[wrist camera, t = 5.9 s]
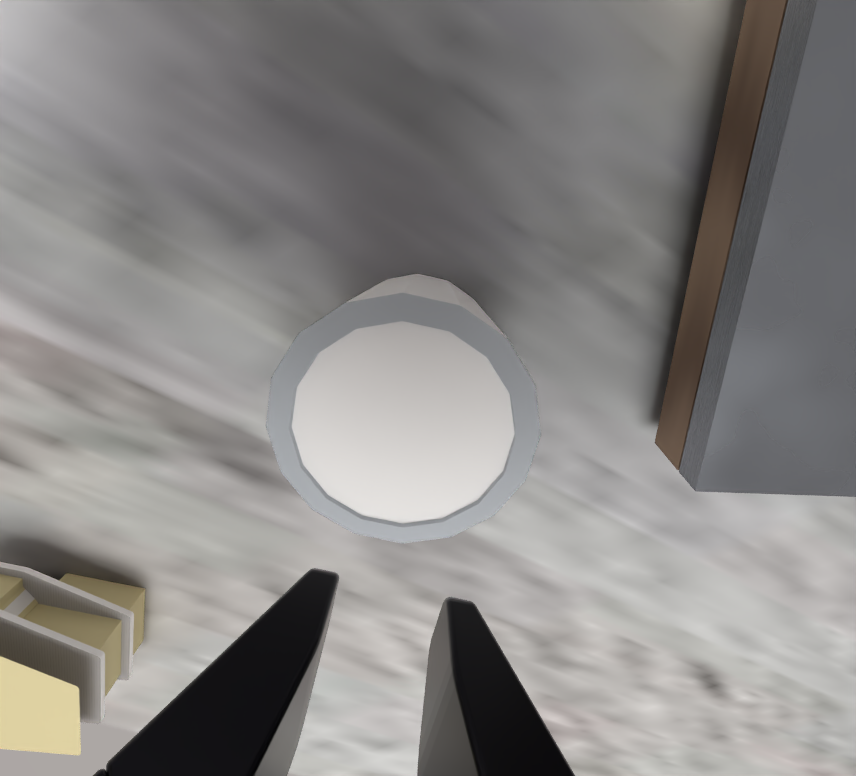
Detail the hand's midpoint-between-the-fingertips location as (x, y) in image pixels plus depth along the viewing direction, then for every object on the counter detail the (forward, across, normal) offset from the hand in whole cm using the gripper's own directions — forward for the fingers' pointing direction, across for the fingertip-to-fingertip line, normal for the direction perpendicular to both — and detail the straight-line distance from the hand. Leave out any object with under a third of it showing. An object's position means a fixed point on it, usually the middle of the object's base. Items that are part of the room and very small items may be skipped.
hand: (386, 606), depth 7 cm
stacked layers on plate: (+13, +13, +16) cm, 24 cm away
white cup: (+13, 0, 0) cm, 13 cm away
